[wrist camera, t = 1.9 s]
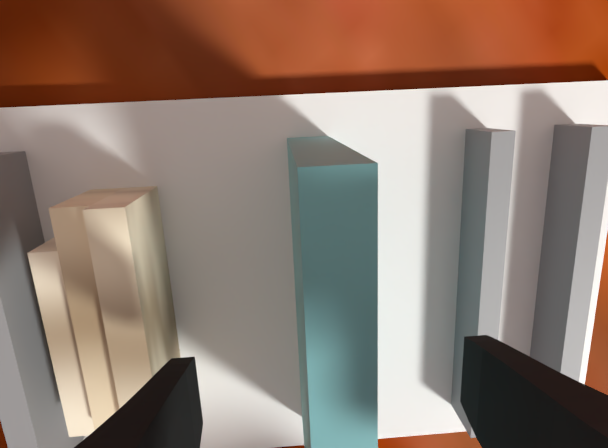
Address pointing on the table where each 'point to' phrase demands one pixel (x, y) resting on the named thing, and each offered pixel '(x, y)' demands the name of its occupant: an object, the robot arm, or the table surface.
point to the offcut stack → (105, 300)
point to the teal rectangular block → (335, 290)
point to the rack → (279, 247)
